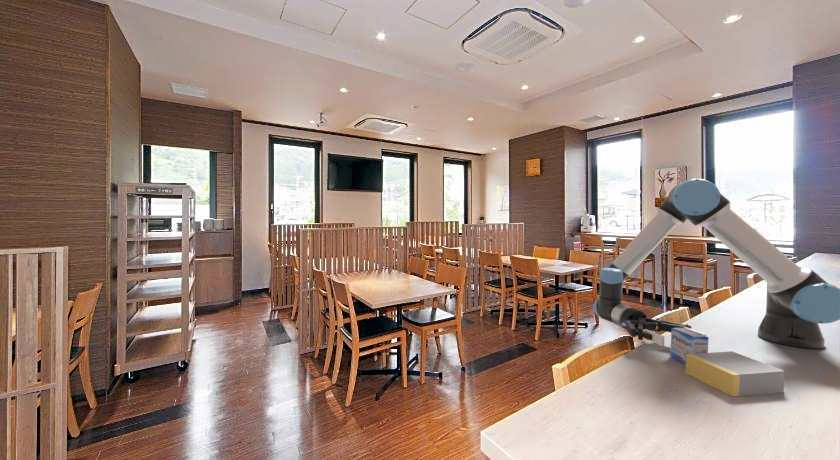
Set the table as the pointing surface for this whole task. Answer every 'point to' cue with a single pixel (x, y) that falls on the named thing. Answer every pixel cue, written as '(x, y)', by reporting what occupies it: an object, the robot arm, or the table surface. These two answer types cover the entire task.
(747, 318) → the table surface
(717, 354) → the block
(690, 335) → the medicine box
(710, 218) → the robot arm
